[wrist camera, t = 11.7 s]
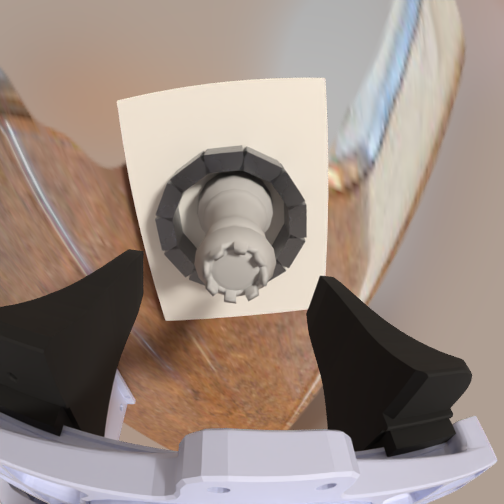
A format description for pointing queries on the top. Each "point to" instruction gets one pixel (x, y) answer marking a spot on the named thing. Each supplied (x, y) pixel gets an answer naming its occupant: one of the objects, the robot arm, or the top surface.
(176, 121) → the mount plate
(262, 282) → the rook chess piece
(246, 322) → the top surface
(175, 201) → the segmented grey ring
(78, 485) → the robot arm
